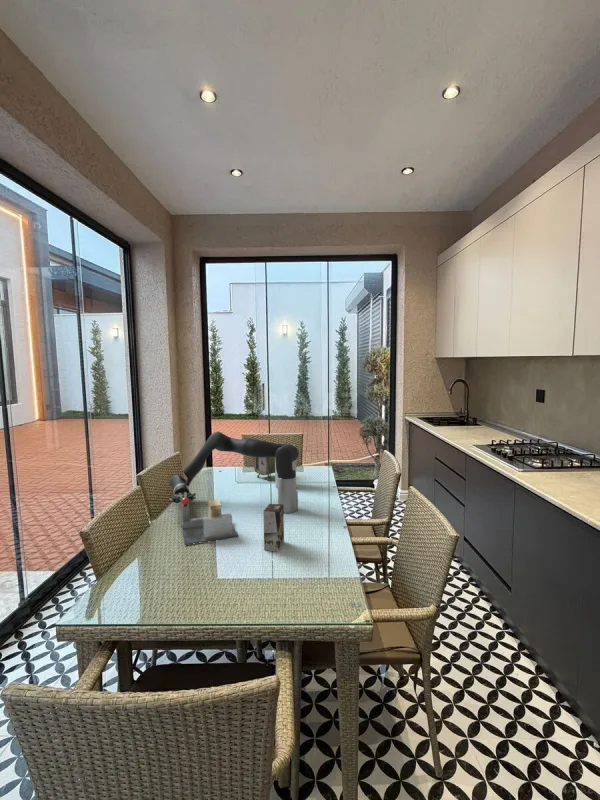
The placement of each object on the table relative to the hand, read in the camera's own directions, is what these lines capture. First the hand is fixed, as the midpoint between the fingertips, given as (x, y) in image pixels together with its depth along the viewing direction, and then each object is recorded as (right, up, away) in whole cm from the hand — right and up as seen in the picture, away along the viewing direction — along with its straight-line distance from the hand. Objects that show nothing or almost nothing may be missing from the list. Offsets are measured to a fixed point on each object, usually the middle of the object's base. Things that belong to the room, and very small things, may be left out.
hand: (184, 503), depth 182 cm
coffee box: (+44, -12, -23) cm, 51 cm away
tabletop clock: (+32, -4, +75) cm, 81 cm away
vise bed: (+13, -11, -9) cm, 19 cm away
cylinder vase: (+45, -5, +56) cm, 73 cm away
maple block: (+16, -9, -8) cm, 20 cm away
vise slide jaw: (+11, -9, -3) cm, 14 cm away
